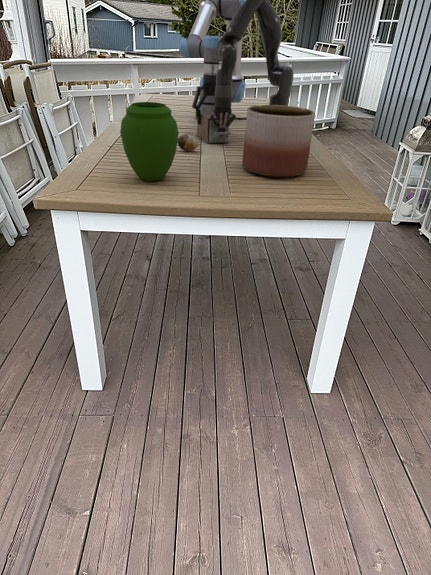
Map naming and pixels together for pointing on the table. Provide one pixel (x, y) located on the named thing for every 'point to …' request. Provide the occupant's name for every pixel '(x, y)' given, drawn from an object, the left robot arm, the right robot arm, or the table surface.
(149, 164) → the vase
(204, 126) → the long brown box
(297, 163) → the planter
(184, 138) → the seashell
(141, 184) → the table surface
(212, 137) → the drawer
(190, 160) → the table surface
